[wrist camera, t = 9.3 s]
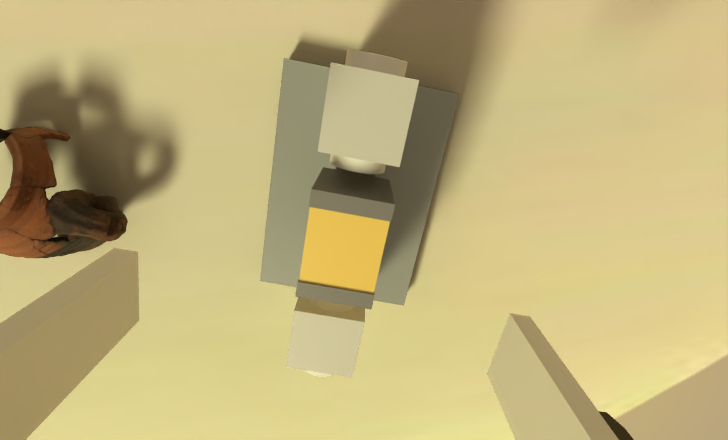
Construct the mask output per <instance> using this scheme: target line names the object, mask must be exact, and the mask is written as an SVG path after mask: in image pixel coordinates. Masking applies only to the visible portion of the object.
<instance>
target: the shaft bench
mask: <svg viewBox="0 0 728 440" xmlns="http://www.w3.org/2000/svg"><path fill="white" fill-rule="evenodd" d="M407 63H408V62H407V61H404V60H401V59H398V58H394V57H390V56H385V55H381V54H376V53H371V52H365V51H359V50H347V55H346V61H345V65H343V64H338V63H333V62H331V64H330V67H325V66H320V65H316V64H311V63H306V62H301V61H296V60H291V59H286V58H284V62H283V72H282V81H281V90H280V100H279V109H278V118H277V128H276V137H275V146H274V156H273V165H272V174H271V184H270V193H269V202H268V212H267V221H266V230H265V240H264V249H263V258H262V268H261V277H260V281H263V282H269V283H275V284H281V285H287V286H293V287H297V283H298V280H299V277H300V270H301V264H302V257H303V250H304V243H305V236H306V229H307V223H308V216H309V209H310V207H309V200H310V193H311V188H312V187H313V185H314V183H315V181H316V179H317V178H318V176H319V174H320V172H321V170H322V168H323V167H325V168H331V169H336V170H341V171H347V172H352V173H357V174H363V175H368V176H373V177H379V178H384V179H389V180H390V184H391V188H392V193H393V197H394V201H395V208H394V212H393V217H392V221H391V222H390V224H389V228H388V233H387V237H386V242H385V246H384V250H383V255H382V259H381V264H380V268H379V272H378V277H377V281H376V286H375V290H374V293H375V295H374V300H375V301H381V302H386V303H392V304H398V305H404V303H405V299H406V295H407V291H408V287H409V284H410V280H411V276H412V272H413V268H414V265H415V261H416V257H417V253H418V249H419V246H420V242H421V238H422V234H423V230H424V227H425V223H426V219H427V215H428V211H429V208H430V204H431V200H432V196H433V192H434V189H435V185H436V181H437V177H438V173H439V169H440V166H441V162H442V158H443V154H444V150H445V147H446V143H447V139H448V135H449V131H450V128H451V124H452V120H453V116H454V112H455V109H456V105H457V101H458V97H459V94H458V93H453V92H448V91H443V90H438V89H433V88H428V87H424V86H419V85H418V83H419V80H416V79H411V78H406V77H405V73H406V68H407ZM364 323H365V308H360V307H354V306H348V305H342V304H337V303H331V302H325V301H319V300H313V299H307V298H301V297H298V300H297V303H296V307H295V310H294V315H293V322H292V329H291V336H290V342H289V349H288V356H287V363H286V367H288V368H294V369H300V370H305V371H306V372H308V373H310V374H312V375H315V376H321V377H325V376H331V375H338V376H344V377H351V378H352V376H353V372H354V367H355V363H356V358H357V354H358V350H359V345H360V341H361V336H362V332H363V327H364Z"/></svg>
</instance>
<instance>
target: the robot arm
mask: <svg viewBox="0 0 728 440" xmlns="http://www.w3.org/2000/svg"><path fill="white" fill-rule="evenodd" d="M138 321H139V286H138V252H134V251H128V250H122V249H116V248H114V249H113V250H111V251H110V252H108V253H107V254H105V255H103V256H102V257H100V258H99V259H97V260H96V261H94V262H93V263H91V264H90V265H88V266H87V267H85V268H84V269H82V270H81V271H79V272H78V273H76V274H75V275H73V276H72V277H70V278H69V279H67V280H66V281H64V282H62V283H61V284H59V285H58V286H56V287H55V288H53V289H52V290H50V291H49V292H47V293H46V294H44V295H43V296H41V297H40V298H38V299H37V300H35V301H34V302H32V303H31V304H29V305H28V306H26V307H24V308H23V309H21V310H20V311H18V312H17V313H15V314H14V315H12V316H11V317H9V318H8V319H6V320H5V321H3V322H2V323H0V440H26V439H27V438H28V437H29V436H30V435H31V433H32V432H33V431H34V430H35V429H36V428H37V427H38V426H39V425H40V424H41V423H42V422H43V421H44V420H45V419H46V418H47V417H48V416H49V415H50V413H51V412H52V411H53V410H54V409H55V408H56V407H57V406H58V405H59V404H60V403H61V402H62V401H63V400H64V399H65V398H66V397H67V396H68V395H69V393H70V392H71V391H72V390H73V389H74V388H75V387H76V386H77V385H78V384H79V383H80V382H81V381H82V380H83V379H84V378H85V377H86V376H87V375H88V373H89V372H90V371H91V370H92V369H93V368H94V367H95V366H96V365H97V364H98V363H99V362H100V361H101V360H102V359H103V358H104V357H105V356H106V355H107V353H108V352H109V351H110V350H111V349H112V348H113V347H114V346H115V345H116V344H117V343H118V342H119V341H120V340H121V339H122V338H123V337H124V336H125V335H126V333H127V332H128V331H129V330H130V329H131V328H132V327H133V326H134V325H135V324H136V323H137V322H138ZM487 374H488V377H489V379H490V381H491V384H492V386H493V388H494V391H495V393H496V395H497V397H498V400H499V402H500V404H501V407H502V409H503V411H504V414H505V416H506V418H507V421H508V423H509V425H510V428H511V430H512V432H513V435H514V437H515V439H516V440H633V438H632V437H631V436H630V434H629V433H628V432H627V431H626V429H625V428H624V427H622V426H621V425H620V424H619V423H618V422H617V421H616V420H615V419H613V418H612V417H611V416H610V415H609V414H608V413H606V412H599V411H598V410H597V409H596V407H595V406H594V405H593V403H592V402H591V401H590V399H589V398H588V396H587V395H586V394H585V392H584V391H583V389H582V388H581V387H580V385H579V384H578V382H577V381H576V380H575V378H574V377H573V376H572V374H571V373H570V371H569V370H568V369H567V367H566V366H565V364H564V363H563V362H562V360H561V359H560V358H559V356H558V355H557V353H556V352H555V351H554V349H553V348H552V346H551V345H550V344H549V342H548V341H547V340H546V338H545V337H544V335H543V334H542V333H541V331H540V330H539V328H538V327H537V326H536V324H535V323H534V322H533V320H532V319H531V317H529V316H522V315H516V314H509V317H508V320H507V322H506V325H505V328H504V330H503V333H502V335H501V338H500V341H499V343H498V346H497V349H496V351H495V354H494V357H493V359H492V362H491V364H490V367H489V370H488V372H487Z"/></svg>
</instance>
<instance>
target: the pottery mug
mask: <svg viewBox="0 0 728 440" xmlns="http://www.w3.org/2000/svg"><path fill="white" fill-rule="evenodd" d="M50 138H51V139H59V140H63V141H67V140H69V139H70V136H68V135H66V134H64V133H60V132H56V131H53V130H49V129H43V128H36V127H34V128H32V127H25V128H16V129H10V130H2V129H0V142H2V141H4V140H5V144H6V145H7V147H8V149H9V150H10V153H11V155H12V158H13V172H12V178H11V184H10V188H9V189H8V191H7V193H6V195H5V196H4V198H3V199H2V201H1V202H0V253H1V254H6V255H9V256H14V257H25V258H49V257H55V256H63V255H67V254H72V253H76V252H79V251H86V250H91V249H93V248H96V247H98V246H100V245H101V244H103V243H104V242H106V241H113V240H116V239H118V238H119V237H120V236H121V235H122V234H123V233H125V231H126V226H127V222H128V221H127V218H126V216H125V215H124V214H123V213H122V212H120V211H119V210H118V205H117V202H116V199H115V198H114V197H109V196H96V195H95V194H93V193H87V192H84V191H82V190H69V191H61V192H57V193H55V194H54V195H53V196H52V197H51V199H50V200H48V199H47V197H46V192H45V189H46V188H50V187H55V186H56V185H57V183H56V179H55V174H54V170H53V163H52V160H51V159H50V156H49V153H48V149H47V146H46V144H45V142H44V141H43V139H50ZM56 234H67V235H68V236H67V237H54V236H55V235H56ZM52 237H54V238H52Z"/></svg>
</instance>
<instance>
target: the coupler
mask: <svg viewBox="0 0 728 440" xmlns="http://www.w3.org/2000/svg"><path fill="white" fill-rule="evenodd" d="M309 207H310V209H309V216H308V223H307V229H306V236H305V243H304V250H303V257H302V264H301V270H300V277H299V280H298V283H297V290H296V297H301V298H307V299H313V300H319V301H325V302H331V303H337V304H342V305H348V306H354V307H360V308H366V309H371V308H372V304H373V300H374V295H375V293H374V290H375V286H376V281H377V277H378V272H379V268H380V264H381V259H382V255H383V250H384V246H385V242H386V237H387V233H388V228H389V224H390V222H391V221H392V217H393V212H394V208H395V201H394V197H393V193H392V188H391V184H390V180H389V179H384V178H379V177H373V176H368V175H363V174H357V173H352V172H347V171H341V170H336V169H331V168H325V167H323V168H322V170H321V172H320V174H319V176H318V178H317V179H316V181H315V183H314V185H313V187H312V188H311V193H310V200H309Z"/></svg>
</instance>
